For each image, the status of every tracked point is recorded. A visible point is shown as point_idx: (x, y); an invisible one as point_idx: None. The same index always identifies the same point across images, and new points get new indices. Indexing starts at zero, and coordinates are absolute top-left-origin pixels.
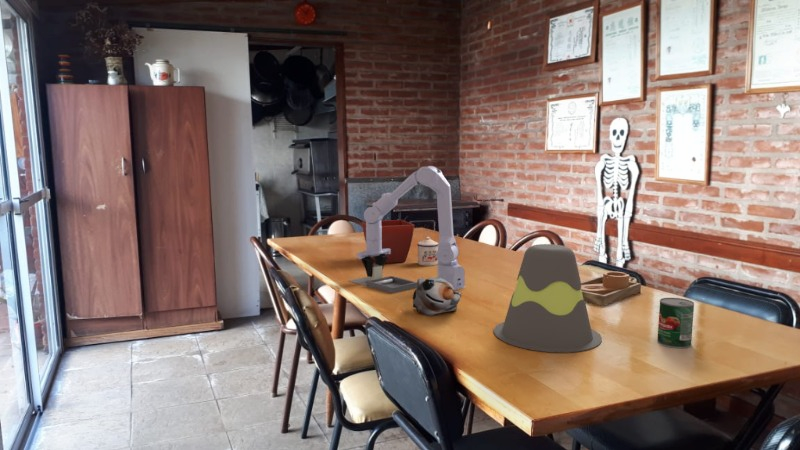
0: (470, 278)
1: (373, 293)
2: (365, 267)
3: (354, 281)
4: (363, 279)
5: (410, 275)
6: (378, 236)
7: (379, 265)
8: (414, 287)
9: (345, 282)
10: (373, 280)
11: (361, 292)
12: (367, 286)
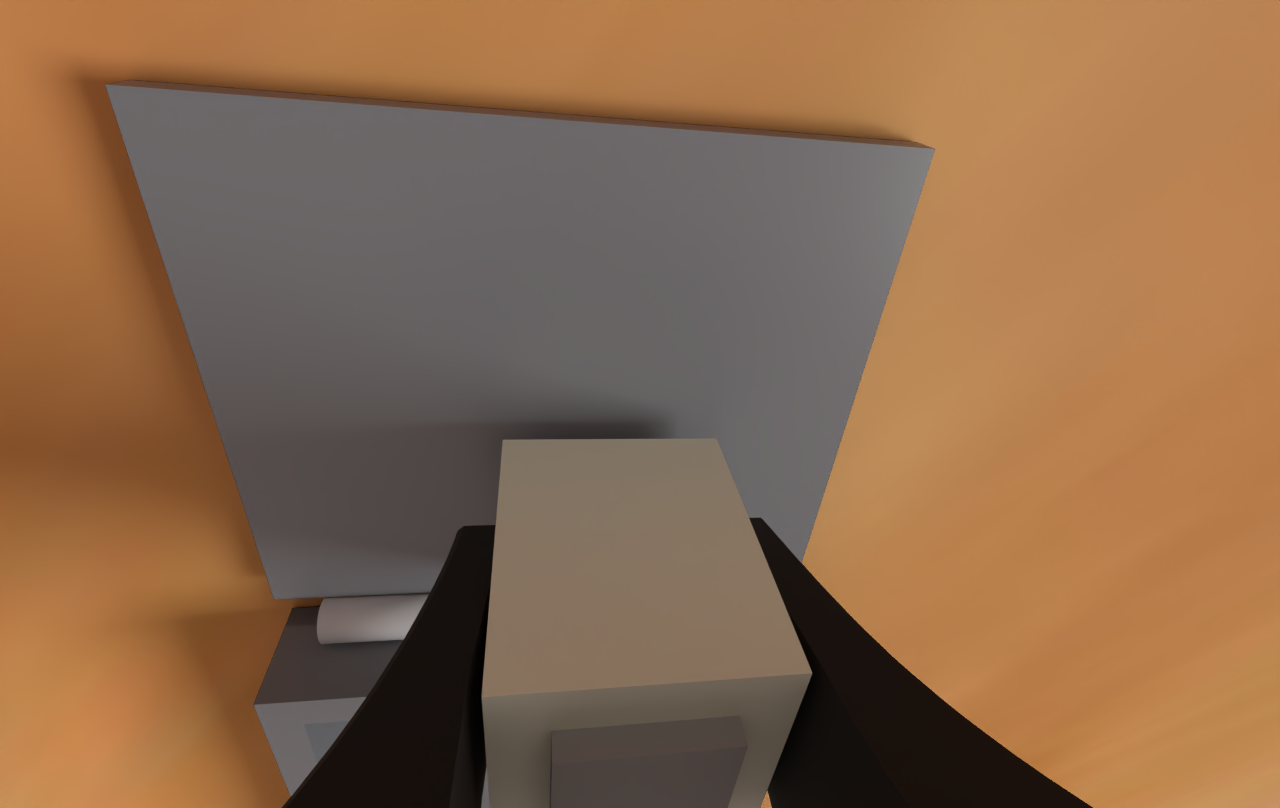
0: (1237, 792)
1: (224, 795)
2: (382, 705)
3: (238, 283)
4: (528, 276)
5: (1262, 474)
6: None
7: (770, 775)
8: None
9: (55, 32)
10: None
11: (90, 726)
12: (291, 640)
